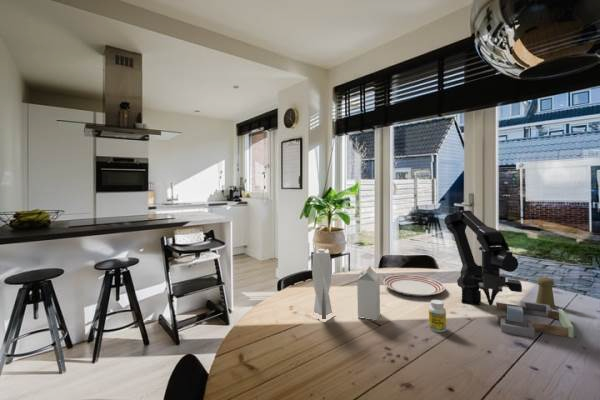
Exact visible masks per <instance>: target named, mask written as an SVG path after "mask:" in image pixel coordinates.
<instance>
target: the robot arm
mask: <svg viewBox="0 0 600 400" xmlns="http://www.w3.org/2000/svg"><path fill="white" fill-rule="evenodd" d="M443 221H444V224H445V226H446V229H447V230H448V231H449V232H450V233H451V234H452V235H453V238H454V240H455V241H454V242H455V245H456V247H457V252H458V255H459V259H460V262H461V265H462V266H461V269H460V277H458V279H457V280H456V283H457V287H459V288H461V300H460V301H461V303H464V304H468V305H469V304H470V305H476V306H480V303H481V302H482V296H481V295H482V292H481V290H482V291H483V292H484V294H485V296H486V300H487V302H488V306H493V304H494V301H495V299H496V297H497V295H498V294H499V293H500V292H501V293H502V292H503V288H508V289H509V290H510V291H511V292H517V293H522V291H523V285H522V282H521V281H520V280H519V279H512V278H510V279H509V278H508V279H507V281H506V276H503V275H502V276H501V274H500V272H501V270H503V271H505V272H507V273H512V272H515V270H517V269H518V267H519V261H518V259H517V257H515V256H514V254H513V251H510V248H509V243H507V241H506V239H505V236H504V235H503V233H502V232H501V231H500V230H498V229H496V228H494V227H490V226H487V224H485V223H484V222H483V221H482V220H480V218H478V217H477V216H476V215H475V214H474V213H473V212H472V210H466V209H465V210H458V211H457V212H454V213H451V214H447V215H446V216H444V220H443ZM467 227H468V228H469V229H471V231H472V232H473V233H474V234H475V235H476V240H477V241H478V243H479V244H480V245H481V246H480V247H478V249H479V250H478V251H481V265H479V264H477V263H476V260H475V257H474V255H473V251H472V249H471V246H470V242H469V239H468V236H467V233H466V229H467ZM490 290H491V293H490Z"/></svg>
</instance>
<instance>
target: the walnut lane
mask: <svg viewBox="0 0 600 400" xmlns="http://www.w3.org/2000/svg"><path fill="white" fill-rule="evenodd" d="M507 305H508V306H515V307H522V306H520V305H519V304H518V305H517V304H511V303H503V302H498V301H497V302H495V308H496V309H495V310H497V311H504V312H507ZM523 307H524V309H526V308H525V306H523ZM551 311H553V312H551ZM523 312H525V310H524V311H523ZM548 312H549V313H548V314H549V315H548V317H549V318H548V317H547V318H548V319H552V320H554V319H555V320H559V312H558V311H557V310H553V309H551V310H548ZM550 314H551V315H550ZM552 314H553V315H552ZM523 315H527V314H526V313H524V314H523ZM550 316H551V318H550ZM501 317H502V318H503V317H504V319H505V316H499V315H497V325H500V326H501ZM528 321H529V320H527V324H526V328H528V323H532V324H533V327H534V330H535V332H539V333H544V334H549V335H550V334H551V335H557V336H560V337H567V338H569V337H568V332H569V329H568V328H566V327H563V326H557V325H555V324H554V325H552V324H547V323H541V322H534V321H529V322H528Z"/></svg>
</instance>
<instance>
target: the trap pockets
mask: <svg viewBox="0 0 600 400" xmlns="http://www.w3.org/2000/svg"><path fill="white" fill-rule="evenodd" d="M519 304H520V305H519V306H522V309H523V311H524V310H525V312H523V315H531V316H535V317H536V316H537V317H542V318H548V319H552V318H551V316H550V318H549V317H548V315H549V314H548V313H549V312H548V310H552V308H550V306H549V305H546V304H539V303H536V302H530V301H522V300H520V303H519ZM523 306H525V308H526V309H524V307H523ZM553 311H554V310H552V311H551V312H553ZM524 313H526V314H524ZM550 315H551V314H550ZM552 315H553V314H552ZM500 317H501V325H500V330H501V333H506V334H510V335H512V334H513V335H517V336H522V337H527V338H533V339H534V338H536V337H535V334H536V331H535V330H534V327H533V324H532V323H528V328H527V326H519V325H514V324H510V323H509V324H508V323H506V320H505V319H504V317H505V316H500ZM502 317H503V318H502ZM527 321H528V322H529V320H527Z"/></svg>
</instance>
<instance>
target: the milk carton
mask: <svg viewBox="0 0 600 400" xmlns="http://www.w3.org/2000/svg"><path fill="white" fill-rule="evenodd" d="M359 275H360V276H359V277H358V278H357V281H356V283H357V285H356V286H357V288H356V289H357V290H356V291H357V317H358V316H359V317H364V318H369V319H373V320H372V321H374V320H377V321H378V319H379V317H380V315H381V297H380V296H381V288H380V284H381V283H380V282H381V281H380V280H381V279H380V278H381V277H380V275H379V274H378V273H377V272H376V271H375V270H373V268H372V267H371V264H370V265H368V267H367V268H366V269H362V270H361V271H360V272H359ZM379 314H380V315H379ZM378 316H379V317H378Z"/></svg>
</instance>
